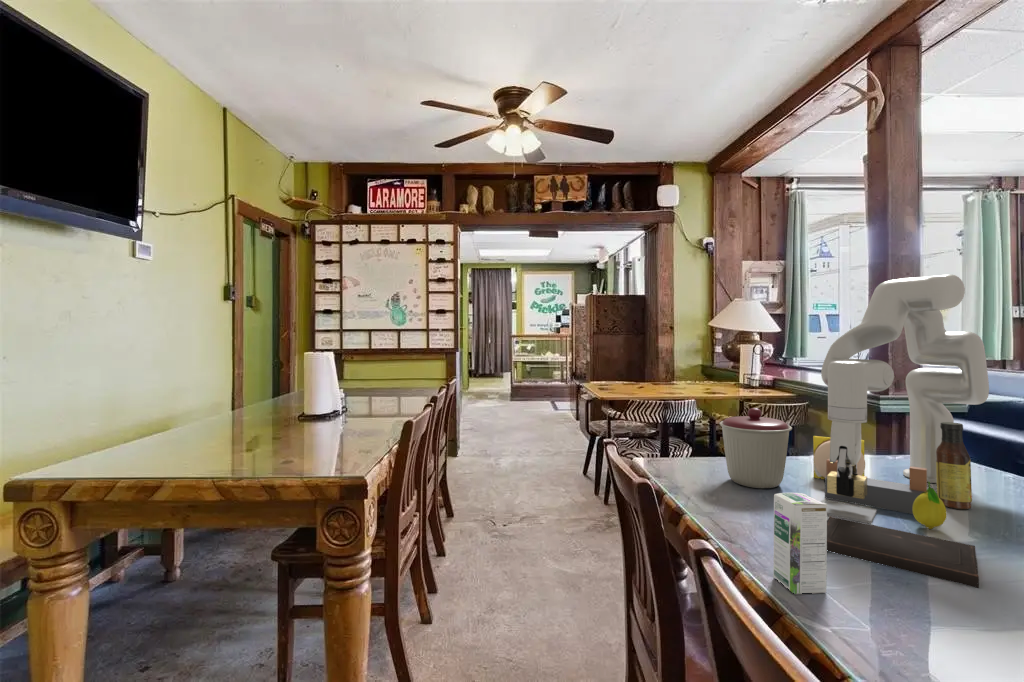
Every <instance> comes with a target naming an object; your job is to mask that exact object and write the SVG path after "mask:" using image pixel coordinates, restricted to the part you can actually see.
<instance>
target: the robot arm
mask: <svg viewBox="0 0 1024 682" xmlns="http://www.w3.org/2000/svg"><path fill="white" fill-rule="evenodd" d="M965 289H966V288H965V284H964V282H963V280H962V279H961V277H959V276H958V275H956V274H941V275H930V276H929V275H928V276H916V277H903V278H897V279H896V278H895V279H890V280H886V281H883V282H881V283H879V284H878V285H877V286H876V287H875V288H874V291H873V292H872V293H873V294H872V295H871V297H870V299H869V302H868V305H867V307H866V311H865V312H864V315H863V318H862V320H861V323H860V324H858V325H856V326H855V327H852V328H851V329H850V330H848V331H847V332H845V333H844V334H842V335H841V336H839V337H838V338H837V339H836V340H835V341H834V342H833V343H832V344H831V345H830V347H829V349H828V351H827V353H826V356H825V358H824V361H823V363H822V366H821V372H820V373H821V374H820V375H821V379H822V381H823V384H824V385H826V386H827V420H829V421H832V422H831V426H830V437H831V439H830V462H831V463H834V462H836V461H837V460H838V463H837V477H836V493H837V494H839V495H844V496H850V497H853V495H854V479H852V474H853V475H858V474H856V473H857V463H858V461H859V460H860V457H861V440H862V424H865V423H868V392H883V391H885V390H887V389H889V388H890V387H891V386H892V384H893V382H894V380H895V379H894V378H895V374H894V373H895V372H894V369H893V367H892V366H891V365H890V364H889V363H888V362H886V361H883V360H880V359H863V358H852V357H853V356H855V355H856V354H859V353H861V352H863V351H866V350H869V349H870V350H871V349H873V348H877V347H880V346H882V345H885V344H888V343H890V342H893V341H896V340H898V339H899V338H900V336H901V334H902V332H903V330H904V335H905V343H906V350H907V354H908V358H909V359H910V361H911V362H912V363H914V364H916V365H920V366H931V367H921V368H916V369H912V370H910V371H909V372H908V373H907V375H906V376H905V389H906V394H907V398H908V405H909V467H910V466H912V467H919V468H926V469H927V483H928V482H930V484H931V483H932V484H937V479H936V460H937V459H936V450H937V448H938V446H939V445H940V444H941V442H942V439H941V438H942V429H941V428H940V425H941V424H940V423H942V422H952V423H955V421H954V417H953V415H952V413H951V412H950V411H949V409H948V408H947V407H946V406H945V404H959V405H960V404H961V405H971V406H972V405H975V406H977V405H981V404H983V403H985V402H986V401H987V399H988V398H989V396H990V395H989V394H990V384H989V383H990V381H989V374H988V366H987V355H986V350H985V349H986V348H985V344H984V341H983V340H982V337H980V335H978V334H977V333H975V332H971V331H961V330H960V331H948V330H946V329H945V324H944V317H943V313H942V312H941V311H942V310H943V311H945V310H948V309H949V310H950V309H953V308H955V307H958V306H959V305H960V303H962V301H963V299H964V297H965V293H966V291H965ZM936 366H937V367H936ZM942 367H946V368H942ZM947 367H957V368H947ZM943 403H944V404H943ZM902 472H903V475H904V476H905V477H906V478H909V468H905V469H903V471H902Z"/></svg>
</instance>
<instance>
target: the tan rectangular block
mask: <svg viewBox="0 0 1024 682" xmlns="http://www.w3.org/2000/svg"><path fill="white" fill-rule="evenodd" d="M836 477H837V472H834V471H831V472H830V473H829V474H828V475H827V493H832V494H837V493H836ZM867 478H868V476H860V475H853V474H852V479H854V495H853V497H855V498H860V499H864V498H865V497H866V495H867ZM838 495H839V494H838ZM843 496H844V495H843ZM849 497H850V496H849Z"/></svg>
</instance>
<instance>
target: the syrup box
mask: <svg viewBox="0 0 1024 682" xmlns="http://www.w3.org/2000/svg"><path fill="white" fill-rule="evenodd" d="M827 520H828V515H827V504H825V503H824V502H821V501H819V500H817V499H815V498H813V497H810V496H808V495H807V494H806V493H801V492H780V493H774V495H773V559H772V560H773V563H772V564H773V565H772V566H773V572H772V573H773V574H772V575H773V579H774V578H776V579H777V580H778V582H779V583H780V582H781V583H782V584H783V585H784V586H783V585H782V584H781V583H780V584H781V585H782V586H783V587H784V588H786V589H787V588H788V589H789V591H790V592H791V593H792V594H793V593H794V594H793V595H803V594H802V593H812V594H823V593H824V594H825V593H827V585H828V584H827V577H828V575H827V572H828V571H827V562H828V559H827V558H828V557H827V556H828V551H827ZM777 580H776V581H777ZM788 589H787V590H788Z"/></svg>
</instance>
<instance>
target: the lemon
mask: <svg viewBox="0 0 1024 682" xmlns="http://www.w3.org/2000/svg"><path fill="white" fill-rule="evenodd" d="M930 484H931V483H930V482H927V487H928V489H927V491H925V492H923V493H921V494H920V495H919V496H918V497H917V498H916V499H915V501H914V503H913V509H912V510H913V514H912V515H913V517H914V519H915V520H916V521H917V522H918V523H919V524H921V525H922V526H924V527H926V528H927V529H929V530H932V529H933V528H936V527H940V526H942V525H943V524H945V522H946V519H947V515H948V514H947V507H946V506H945V505H944V503H943V502H942V500H941V499H940V498H938V495H937V491H936V490H935V488H932V487H931V485H930Z"/></svg>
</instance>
